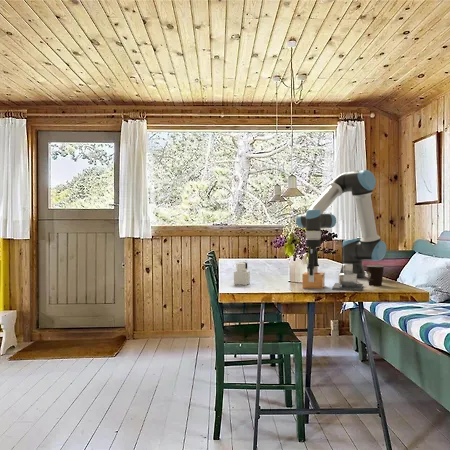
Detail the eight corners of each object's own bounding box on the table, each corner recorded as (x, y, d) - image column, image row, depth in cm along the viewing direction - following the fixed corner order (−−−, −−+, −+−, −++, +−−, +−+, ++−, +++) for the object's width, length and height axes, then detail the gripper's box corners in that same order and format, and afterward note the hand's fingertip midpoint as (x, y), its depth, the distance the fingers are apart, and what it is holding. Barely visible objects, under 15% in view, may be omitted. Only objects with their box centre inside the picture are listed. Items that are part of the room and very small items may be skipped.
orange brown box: (305, 285, 232) (305, 272, 232) (324, 286, 229) (324, 272, 229) (302, 288, 223) (302, 274, 223) (322, 288, 220) (322, 274, 220)
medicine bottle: (237, 283, 244) (237, 261, 244) (250, 283, 242) (249, 261, 242) (233, 284, 237) (233, 262, 237) (246, 285, 235) (246, 263, 235)
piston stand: (335, 284, 233) (335, 262, 233) (362, 285, 229) (362, 262, 229) (332, 289, 216) (332, 265, 216) (361, 290, 212) (361, 266, 212)
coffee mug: (385, 286, 226) (384, 267, 226) (367, 286, 228) (367, 266, 228) (381, 283, 237) (381, 265, 237) (365, 283, 239) (365, 264, 239)
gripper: (309, 238, 239) (309, 277, 239) (302, 239, 215) (302, 282, 215) (323, 238, 237) (323, 278, 236) (317, 239, 213) (317, 283, 213)
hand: (313, 280), depth 226 cm, fingers open, 13 cm apart
